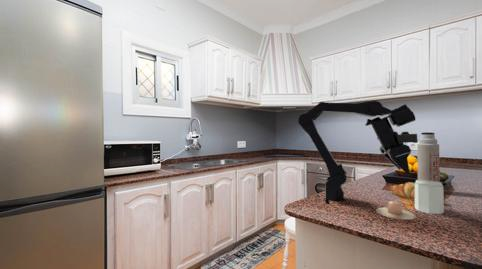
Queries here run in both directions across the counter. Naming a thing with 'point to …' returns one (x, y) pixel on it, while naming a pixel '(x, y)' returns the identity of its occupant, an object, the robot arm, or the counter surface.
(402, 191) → the croissant
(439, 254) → the counter surface
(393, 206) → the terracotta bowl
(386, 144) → the robot arm
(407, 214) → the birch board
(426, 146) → the thermos bottle
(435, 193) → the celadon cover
